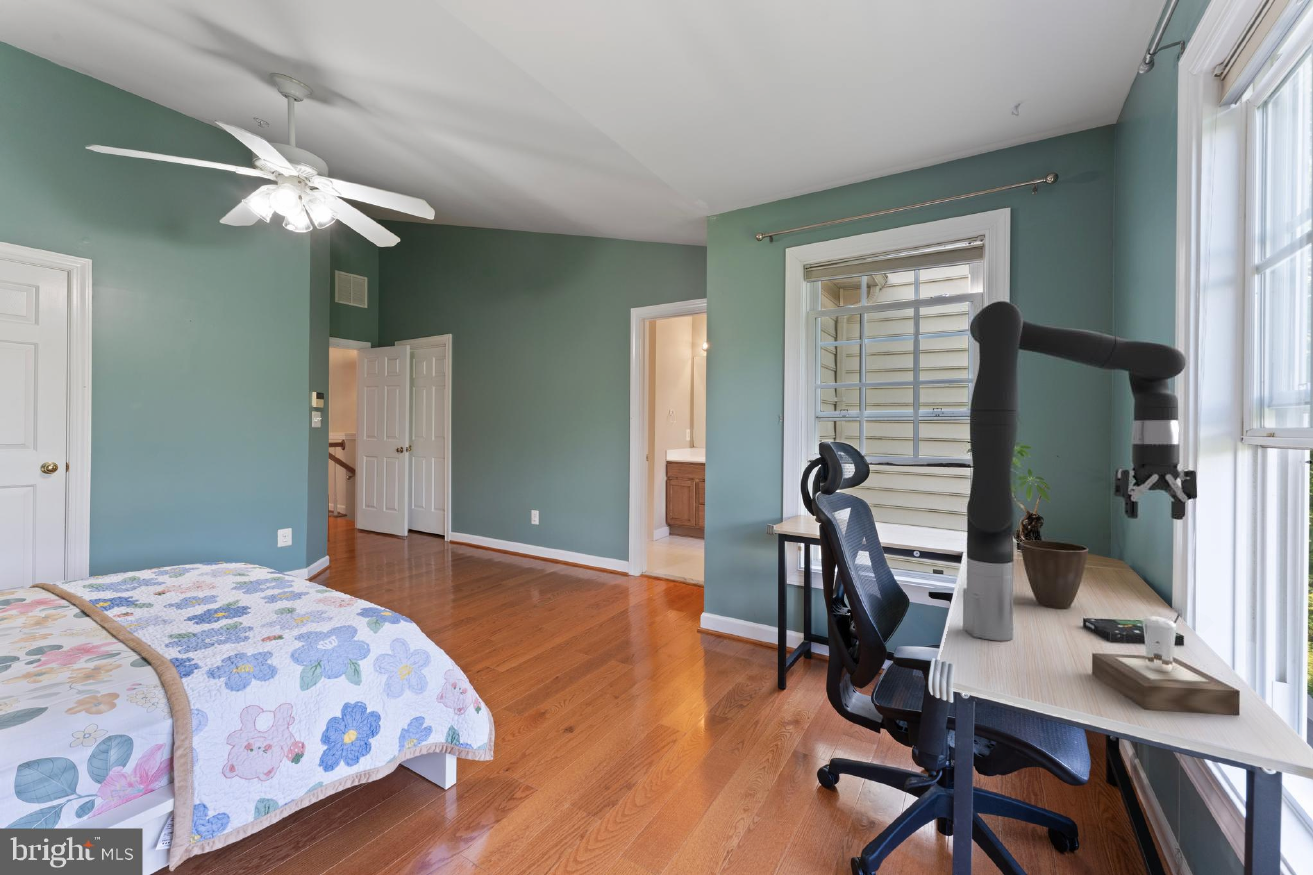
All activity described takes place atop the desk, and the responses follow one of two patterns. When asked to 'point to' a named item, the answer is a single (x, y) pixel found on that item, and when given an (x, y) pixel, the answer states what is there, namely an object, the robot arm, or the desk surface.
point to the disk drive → (1121, 630)
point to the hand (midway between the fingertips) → (1154, 518)
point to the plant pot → (1054, 571)
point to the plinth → (1166, 685)
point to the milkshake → (1159, 642)
